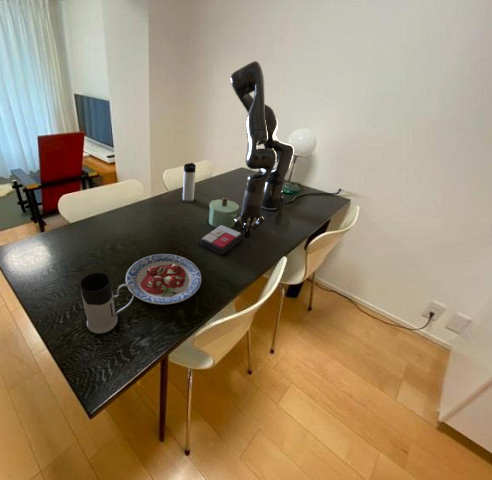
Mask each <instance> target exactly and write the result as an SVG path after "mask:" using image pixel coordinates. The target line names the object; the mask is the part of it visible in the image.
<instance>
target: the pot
mask: <svg viewBox="0 0 492 480" xmlns="http://www.w3.org/2000/svg"><path fill="white" fill-rule="evenodd" d="M238 210H239V209H238ZM238 210H237V211H236V212H233V213H221V212H217V211H214V210H212V209H211V208H210V207H209V213H208V224H209V225H210V226H211V227H213V228H215V229H216V228H218V227H219V226H220V225H223V226H225V227H228V228H230V229H233V228H234V227H235V225H236V224H237V223H236V222H235V220H234V219H235V218H238Z"/></svg>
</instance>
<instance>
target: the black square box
mask: <svg viewBox="0 0 492 480" xmlns="http://www.w3.org/2000/svg"><path fill="white" fill-rule="evenodd" d="M242 238H243V232H239V231H237V230H235V229H233V228H228V227H225V226H223V225H220V226H219V227H218V228H216V227H215V229H213V230H212V231H210V232H209V233H207V234H206V235H205V236H203V237H201V238H200V246H202V247H204V248H206V249H208V250H211V251H212V252H214V253H215V254H219V255H221V256H224V254H226V253H227V252H228V251H229V250H230V249H232V248H233V247H235V246H236V245H238V244H239V243H240V242H242Z"/></svg>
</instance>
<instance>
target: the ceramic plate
mask: <svg viewBox="0 0 492 480" xmlns="http://www.w3.org/2000/svg"><path fill="white" fill-rule="evenodd" d="M125 284H128V285H131V286H132V287H133V288H134V298H137V299H139V300H141V301H143V302H145V303H148V304H153V305H161V306H163V305H165V306H166V305H172V304H173V305H174V304H178V303H182V302H184V301H186V300H188V299H190V298H191V297H192V296H194V295H195V294H196V293H197V292H198V290H199V289H200V287H201V284H202V274H201V271H200V269H199V268H198V267H197V265H196V264H195V263H194V262H192V261H191V260H189V259H188V258H185V257H183V256H180V255H177V254H170V253H159V254H158V253H157V254H152V255H148V256H145V257H142V258H140V259H139V260H137V261H135V262H134V263H133V264H132V265H131V266H130V267H129V268H128V269H127V272H126V275H125ZM127 289H128V291H129V292H130V294H132V295H133V291H132V289H131V288H130V287H127Z"/></svg>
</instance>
